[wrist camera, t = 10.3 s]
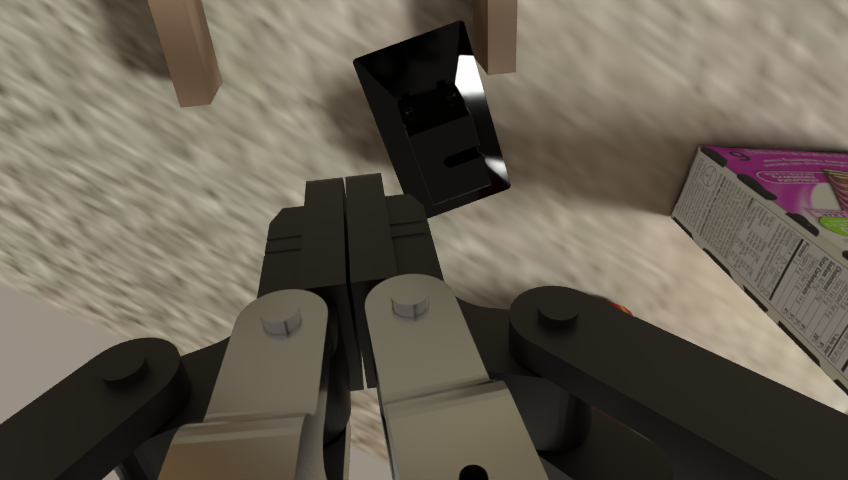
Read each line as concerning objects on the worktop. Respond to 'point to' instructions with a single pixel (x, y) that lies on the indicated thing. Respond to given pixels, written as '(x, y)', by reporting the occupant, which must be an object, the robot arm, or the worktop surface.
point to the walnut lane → (200, 75)
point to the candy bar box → (778, 238)
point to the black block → (435, 118)
